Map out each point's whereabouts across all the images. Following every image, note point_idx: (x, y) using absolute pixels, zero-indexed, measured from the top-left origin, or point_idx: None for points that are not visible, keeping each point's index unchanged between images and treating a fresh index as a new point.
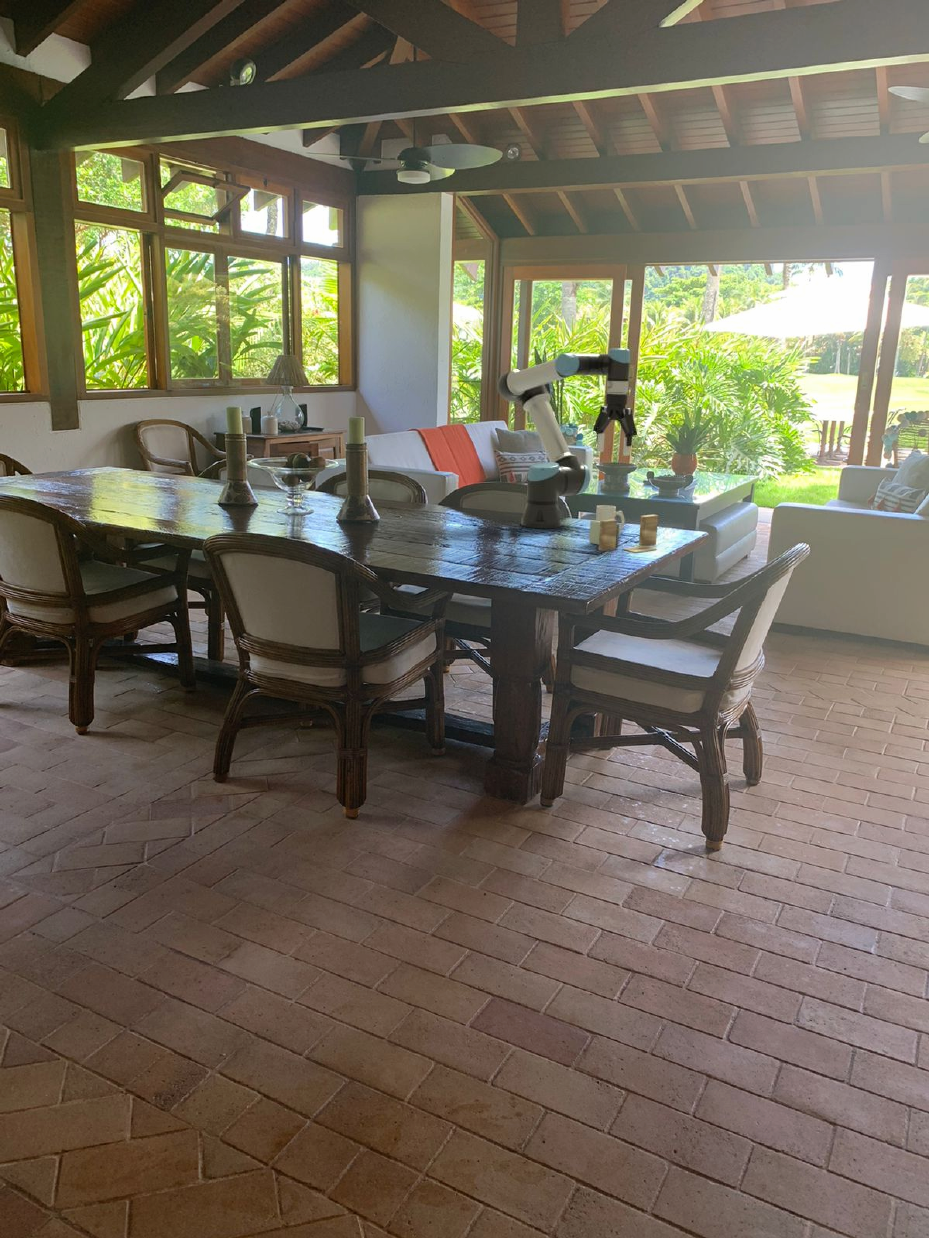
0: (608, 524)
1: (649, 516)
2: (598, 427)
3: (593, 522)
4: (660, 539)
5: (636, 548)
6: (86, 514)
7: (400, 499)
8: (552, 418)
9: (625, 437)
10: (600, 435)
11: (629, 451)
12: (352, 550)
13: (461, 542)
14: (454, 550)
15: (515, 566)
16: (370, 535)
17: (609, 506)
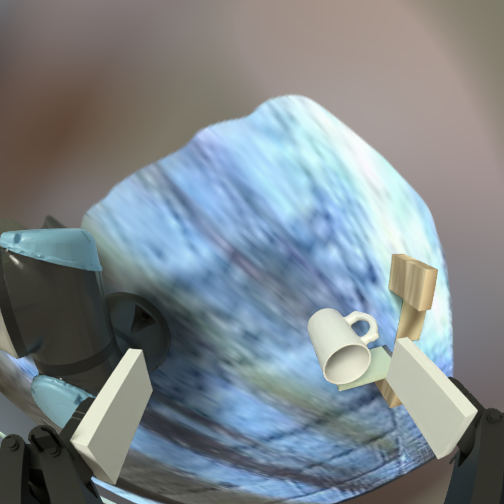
0: None
1: (432, 297)
2: (14, 467)
3: (346, 387)
4: (381, 207)
5: (409, 322)
6: None
7: None
8: None
9: (447, 452)
10: (113, 467)
11: (418, 355)
12: None
13: (217, 472)
14: (255, 487)
15: (353, 470)
16: (147, 491)
17: (340, 347)
